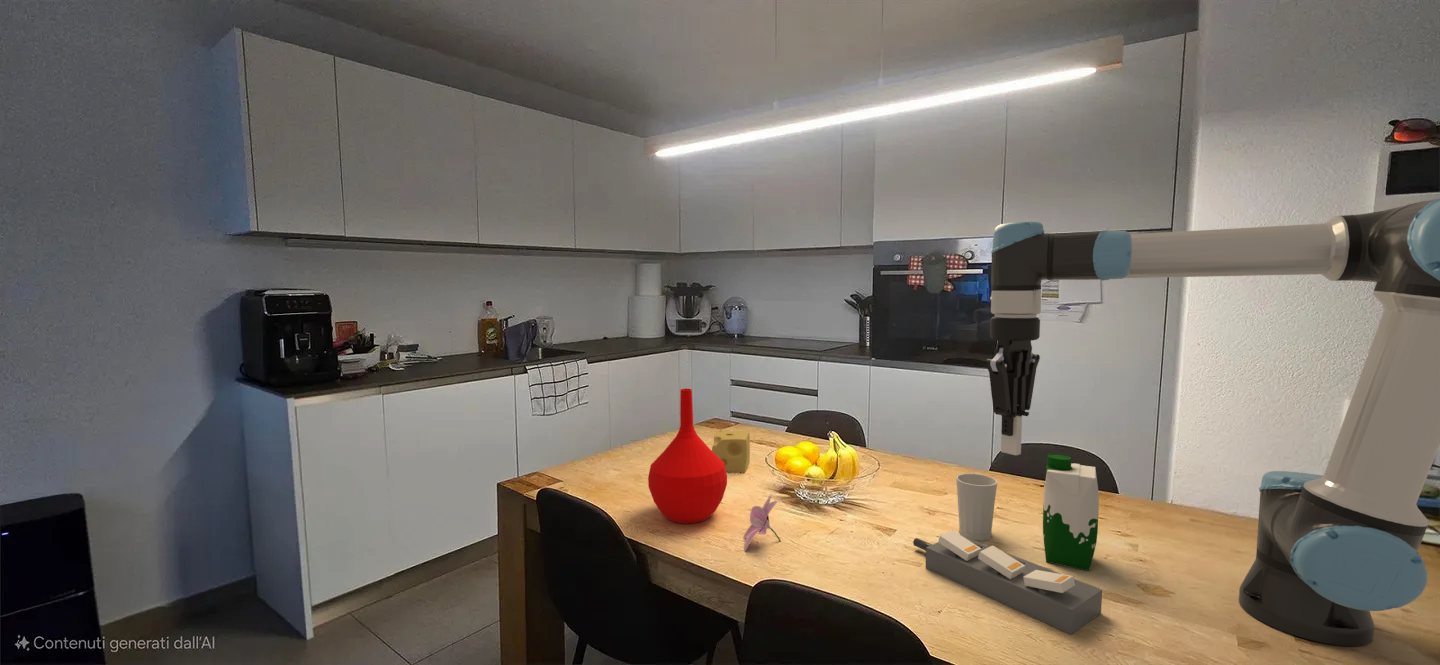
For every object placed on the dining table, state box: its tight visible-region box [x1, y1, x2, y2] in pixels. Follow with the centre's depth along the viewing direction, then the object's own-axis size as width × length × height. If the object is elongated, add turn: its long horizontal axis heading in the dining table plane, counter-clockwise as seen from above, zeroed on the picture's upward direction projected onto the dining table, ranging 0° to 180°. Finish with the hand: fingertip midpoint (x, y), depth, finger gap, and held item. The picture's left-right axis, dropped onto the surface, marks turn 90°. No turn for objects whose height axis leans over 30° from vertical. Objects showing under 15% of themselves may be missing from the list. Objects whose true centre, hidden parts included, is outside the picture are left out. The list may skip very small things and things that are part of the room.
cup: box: [955, 472, 998, 542], centre depth 125 cm, size 8×8×12 cm
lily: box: [743, 493, 782, 552], centre depth 123 cm, size 12×12×10 cm
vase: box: [647, 388, 728, 524], centre depth 136 cm, size 18×18×30 cm
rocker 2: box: [978, 545, 1025, 579], centre depth 102 cm, size 6×4×2 cm, turn 35°
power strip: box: [912, 535, 1103, 636], centre depth 105 cm, size 32×10×4 cm, turn 35°
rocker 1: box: [937, 529, 981, 561], centre depth 108 cm, size 6×4×2 cm, turn 35°
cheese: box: [711, 429, 751, 474], centre depth 172 cm, size 10×11×10 cm
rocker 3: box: [1023, 570, 1075, 593], centre depth 95 cm, size 6×4×2 cm, turn 34°
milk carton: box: [1042, 453, 1100, 572], centre depth 113 cm, size 9×9×20 cm
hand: (1010, 452), depth 101 cm, fingers closed
